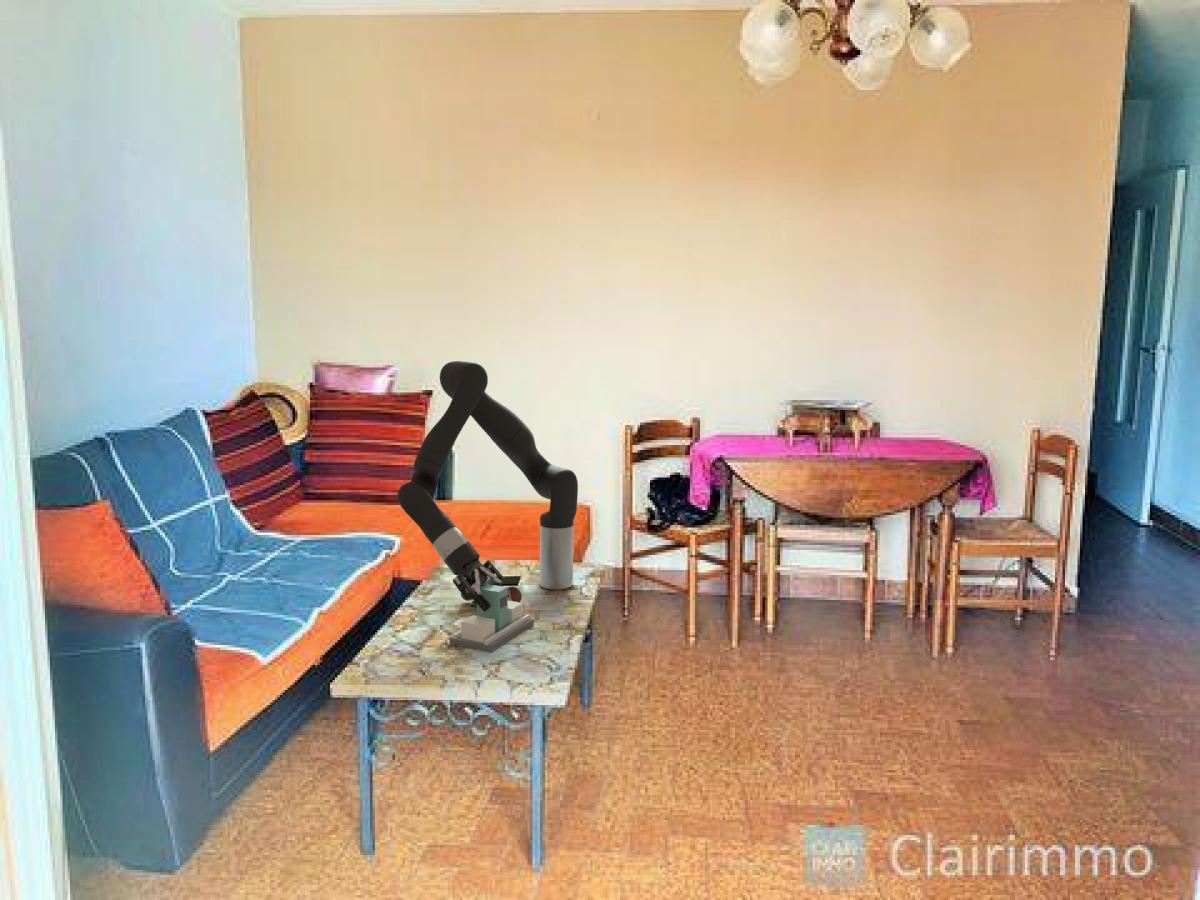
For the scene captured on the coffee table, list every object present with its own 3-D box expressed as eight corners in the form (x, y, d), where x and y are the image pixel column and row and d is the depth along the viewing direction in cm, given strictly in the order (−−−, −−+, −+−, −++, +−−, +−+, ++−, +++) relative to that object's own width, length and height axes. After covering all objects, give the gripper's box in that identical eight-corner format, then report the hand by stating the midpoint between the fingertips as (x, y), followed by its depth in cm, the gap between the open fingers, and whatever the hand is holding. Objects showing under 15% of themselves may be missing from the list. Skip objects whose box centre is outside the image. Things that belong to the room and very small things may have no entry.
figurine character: (462, 614, 244) (521, 609, 243) (458, 585, 243) (517, 580, 242) (466, 605, 250) (523, 600, 250) (463, 577, 249) (520, 572, 249)
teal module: (485, 623, 228) (485, 583, 227) (508, 627, 226) (508, 587, 224) (477, 629, 225) (476, 588, 223) (499, 633, 222) (499, 592, 221)
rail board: (494, 618, 237) (494, 608, 236) (533, 625, 232) (533, 615, 232) (449, 644, 219) (449, 633, 219) (490, 652, 214) (490, 641, 214)
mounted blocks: (501, 614, 235) (501, 599, 234) (522, 618, 232) (522, 603, 232) (461, 638, 219) (461, 621, 218) (483, 642, 216) (483, 625, 215)
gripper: (448, 548, 219) (491, 603, 216) (481, 534, 232) (522, 586, 229) (429, 567, 222) (471, 622, 219) (462, 553, 235) (503, 604, 232)
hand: (497, 604), depth 224 cm, fingers open, 8 cm apart
